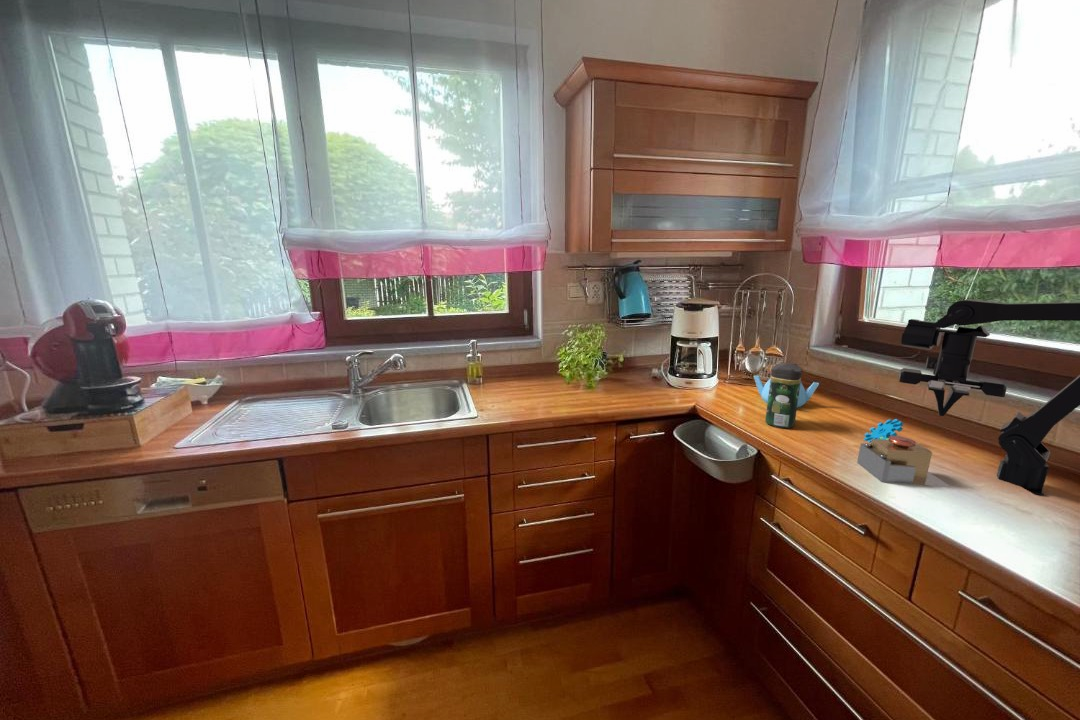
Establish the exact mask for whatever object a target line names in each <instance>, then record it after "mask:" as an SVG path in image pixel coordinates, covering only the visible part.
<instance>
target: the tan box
mask: <svg viewBox="0 0 1080 720" xmlns="http://www.w3.org/2000/svg"><path fill="white" fill-rule="evenodd" d="M870 444H871V448H873V449H874V450H875V451H877V452H878V453H880V454H885V455H887V459H888V460H890V461H891V464H893V465H909V466H915V467H916V470H915V474H914V479H913V481H926V478H927V473H928V472H929V469H930V464H931V460H932V456H933V451H932V450H930V449H928V448H926V447H925V446H923V445H921V444H919V443H918V442H916V440H913V438H912V439H911V438H908V437H907V436H906V437H905V436H900V435H897V436H889V439H888V440H884V439H872V440H871V443H870Z"/></svg>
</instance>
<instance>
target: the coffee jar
mask: <svg viewBox="0 0 1080 720" xmlns="http://www.w3.org/2000/svg"><path fill="white" fill-rule="evenodd" d="M802 374H803V369H802V367H801V366H799V365H798V364H797V363H793V362H784V361H783V362H780V363H777V364H774V365H773V367H772V368H771V373H770V378H771V379H770V378H769V379H770V387H769V395H768V403H766V404H767V405H766V413H765V419H764V420H765V421H764V422H765V423H766V424H767V425H770V426H772V427H775V428H779V429H785V428H786V429H790V428H792V427H793V426H794V425H795V423H796V418H797V417H796V416H797V409H798V408H797V403H798V397H799V390H800V383H802Z"/></svg>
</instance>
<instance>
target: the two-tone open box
mask: <svg viewBox="0 0 1080 720" xmlns="http://www.w3.org/2000/svg"><path fill="white" fill-rule="evenodd" d="M856 464H857V465H859V466H860V467H861V468H863V469H864V470H865V471H867V472H868V473H869V474H870V475H871V476H872V477H874V478H876V479H877V480H878V481H879V482H881V483H888V484H890V483H891V484H902V485H903V484H904V485H917V486H919V485H920V486H930V487H931V486H932V487H946V488H952V486H951V485H949V484H948V483H946V482H945V481H943V479H940V478H939V477H938V476H935V475H934V474H933V473H931V472H929V471H928V473H927V478H926V481H913V479H914V474H915V470H916V467H915V466H909V465H893V464H891V461H890V460H888V459H887V455H885V454H880V453H878V452H877V451H875V450H874V449H873V448H871V443H869V442H867V443H860V445H859V451H858V457H857V463H856Z"/></svg>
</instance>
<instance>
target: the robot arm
mask: <svg viewBox="0 0 1080 720" xmlns="http://www.w3.org/2000/svg"><path fill="white" fill-rule="evenodd" d="M907 320H908V321H907V324H906V326H905V328H904V331H903V332H902V334H901V341H900V342H901V346H903V347H910V348H917V349H924V350H932V349H933V348H934V347H939V345H940V343H941V341H942V343H941V345H940V352H939V355H938V357H936V356H927V359H926V363H925V368H924V369H925V370H927V371H933V373H932V374H933V375H932V374H925V373H922V370H921V369H916V368H909V367H908V368H907V367H903V368H901V369H899V376H898V382H899V383H902V384H908V385H918V384H919V383H921V382H923V383H926V386H927V389H928V390H929V391H932V392H933V393H934V394H933V395H934V396H935V401H936V406H937V412H938V416H939V417H944V416H945V415H946V414H947V413H948V411H949V410H950V409H951V408H952V407H953V406H954V404H955V403H957V402H958V401H959V400H960V399H961V398H962V397H964V396H970V392H969V391H970V390H971V389H974V390H981V391H982V393H983V394H985V395H986V396H992V397H998V398H1005V397H1006V392H1007V386H1006V385H1005V384H1004V383H1003V382H1002V381H1001V380H999V379H991V378H985V377H979V380H978V381H977V380H972V379H967V378H968V375H969V371H970V366H971V362H972V360H973V354H974V349H975V347H976V342H977V338H987V337H989V336H990V332H989V331H988V330H986V329H985V328H984V325H979V326H977V327H968V326H970V325H978V324H987V323H995V322H1001V321H1040V322H1041V321H1044V322H1045V321H1047V322H1049V321H1055V322H1056V321H1057V322H1058V321H1067V322H1068V321H1069V322H1070V321H1071V322H1072V321H1077V322H1078V321H1080V301H1077V302H1075V301H1071V302H1068V301H1067V302H1066V301H1065V302H1012V303H1006V302H998V301H990V300H982V299H973V298H970V299H969V298H968V299H961V300H958V301H955V302H954V303H952V304H951V305H949V307H948V309H947V312H946V314H945V315H944V316H943V317H941V318H940V319H937V321H936V322H935V321H927V320H920V319H916V318H911V319H907ZM954 325H957V326H958V327H957V328H956V329H948V328H949V327H952V326H954ZM966 326H967V327H966ZM946 328H947V329H946ZM944 386H949V391H948V393H947V396H946V398H945V394H946V391H945V388H944ZM1079 406H1080V374H1079V375H1078V376H1076V378H1074V379H1073V380H1071V382H1069V383H1068V384H1066V386H1065V387H1063V388H1062V389H1060V390H1059V392H1057V393H1056V394H1055V395H1054V396H1052V397H1051V398H1050V399H1048V400H1047V402H1045V403H1044V404H1043V405H1042V406H1040V407H1039V408H1038V409H1037V410H1035V411H1034V412H1032V413H1030V414H1028V415H1023V413H1021V412H1017V413H1016V415H1015V416H1014V417H1013V418H1012V419H1011V420H1010V421H1008V422H1006V423H1005V422H1004V424H1003V425H1002V427H1000V429H999V432H1000V435H999V436H998V440H997V441H998V444H999V446H1000V447H1001V449H1003V450H1004V451H1005V452H1006V454H1005V456H1004V459H1003V460H999V463H998V467H997V468H998V469H997V472H996V477H997V479H998V480H999V481H1002V482H1005V483H1009V484H1011V485H1014V486H1017V487H1020V488H1022V489H1024V490H1026V491H1028V492H1030V493H1031V494H1034V495H1039V496H1045V492H1044V490H1043V489H1044V485H1045V482H1046V478H1047V475H1048V472H1049V468H1050V466H1049V465H1048V463H1047V462H1048V459H1049V457H1050V456H1051V451H1050V449H1048V448H1047V446H1045V444H1044V443H1042V441H1043V440H1044V439H1045V438H1046V437H1047V435H1048V434H1049V432H1051V430H1052V429H1053V428H1054V427H1055V425H1057V424H1058V423H1059V422H1060V421H1062V420H1063V419H1064V418H1066V417H1067V416H1068V415H1069V414H1070V413H1072V412H1073V411H1074V410H1076V409H1077V408H1078V407H1079Z"/></svg>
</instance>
